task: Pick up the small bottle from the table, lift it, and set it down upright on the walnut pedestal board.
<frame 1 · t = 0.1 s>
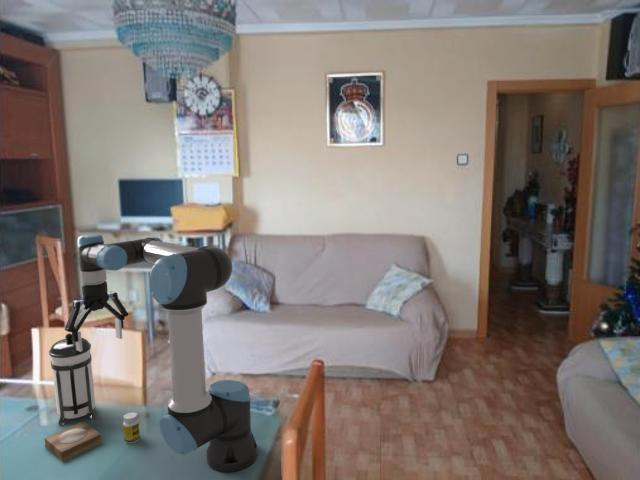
hand: (100, 344, 163), 28 cm above the table, tool pointing down, fingers open, 13 cm apart
coffee press: (78, 416, 171), on the table
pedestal: (73, 444, 154), on the table
supplement bottle: (132, 440, 157), on the table
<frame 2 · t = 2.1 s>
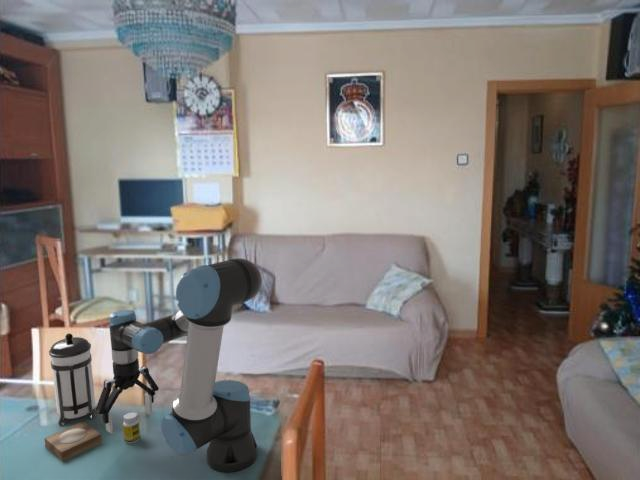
hand: (130, 422, 156), 6 cm above the table, tool pointing down, fingers open, 13 cm apart
nothing on the table moved.
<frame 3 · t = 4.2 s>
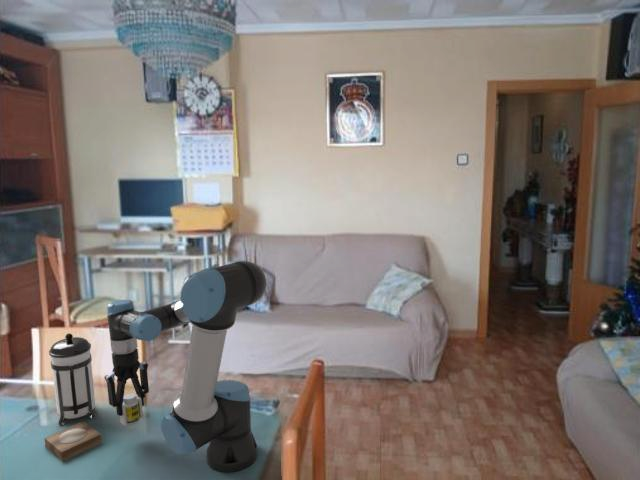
hand: (131, 419, 155), 7 cm above the table, tool pointing down, fingers closed on supplement bottle, 5 cm apart
supplement bottle: (131, 421, 155), point 6 cm above the table, touching gripper
everything else where it was.
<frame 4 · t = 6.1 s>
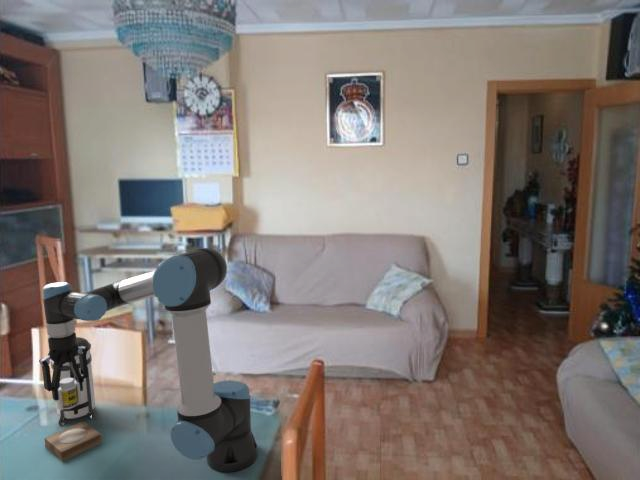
hand: (69, 404, 152), 14 cm above the table, tool pointing down, fingers closed on supplement bottle, 5 cm apart
supplement bottle: (69, 406, 152), point 13 cm above the table, touching gripper
everything else where it was.
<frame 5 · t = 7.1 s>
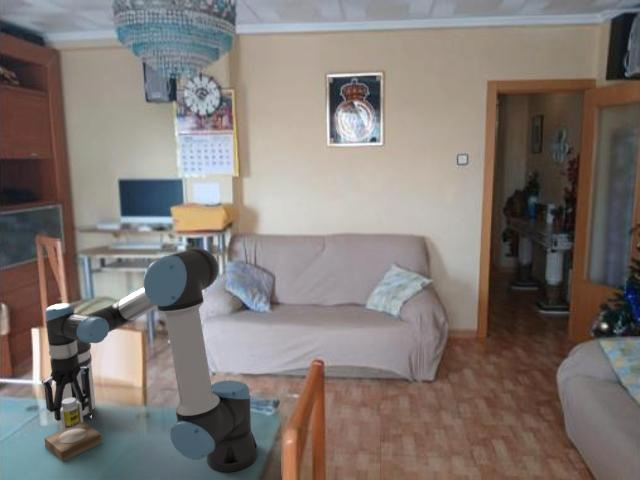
hand: (71, 424, 153), 7 cm above the table, tool pointing down, fingers closed on supplement bottle, 5 cm apart
supplement bottle: (71, 425, 153), point 6 cm above the table, touching gripper
everything else where it was.
when the fingers open (4 cm above the table, at t = 8.0 s): supplement bottle stays where it is, resting on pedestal.
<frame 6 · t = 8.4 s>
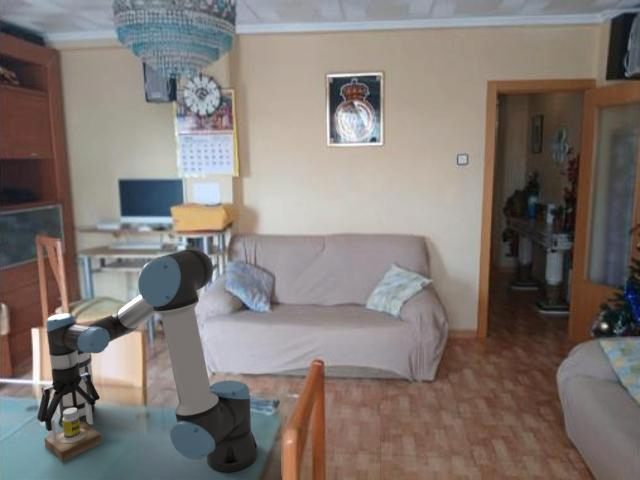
hand: (72, 430, 153), 5 cm above the table, tool pointing down, fingers open, 10 cm apart
supplement bottle: (72, 435, 154), point 3 cm above the table, touching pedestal
everything else where it was.
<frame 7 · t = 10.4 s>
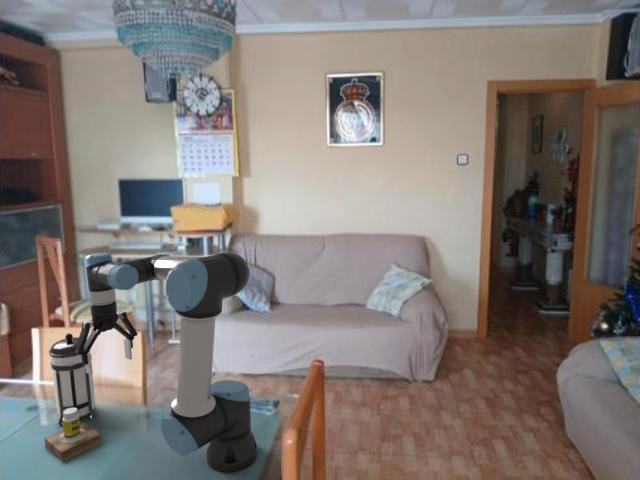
hand: (109, 365, 158), 23 cm above the table, tool pointing down, fingers open, 13 cm apart
nothing on the table moved.
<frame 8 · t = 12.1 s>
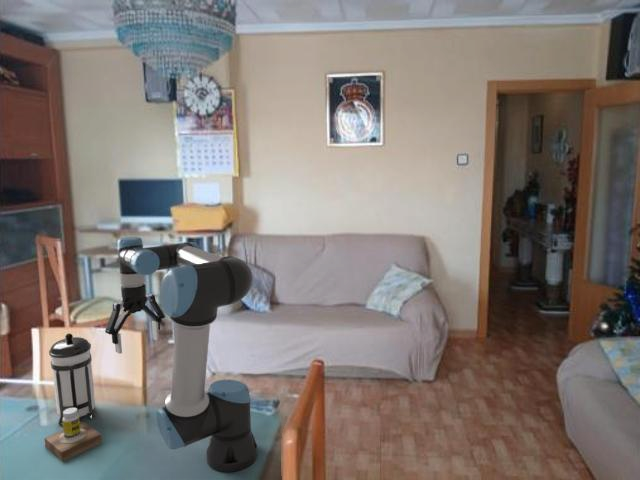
hand: (138, 346, 164), 27 cm above the table, tool pointing down, fingers open, 13 cm apart
nothing on the table moved.
at the end: supplement bottle inside the target area on the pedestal (0.1 cm from its centre), point 3.0 cm above the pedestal's base; supplement bottle tilted 0°; the gripper is holding nothing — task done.
